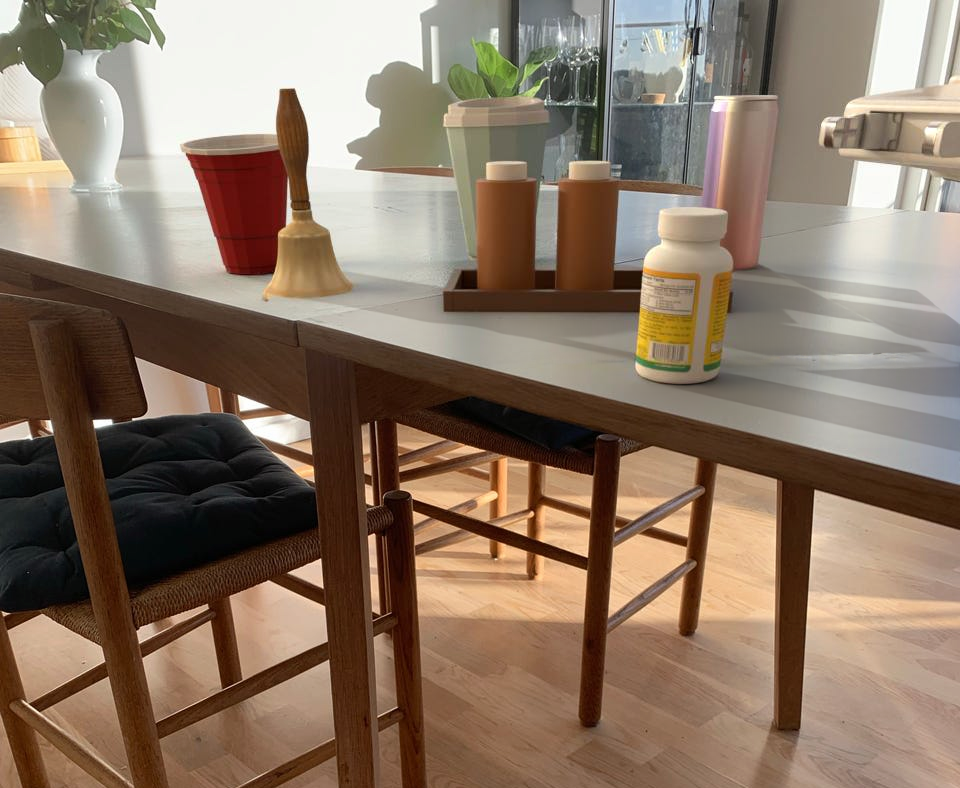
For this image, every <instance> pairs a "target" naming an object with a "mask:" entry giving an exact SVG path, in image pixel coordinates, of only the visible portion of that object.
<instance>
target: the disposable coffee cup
mask: <svg viewBox="0 0 960 788" xmlns="http://www.w3.org/2000/svg"><path fill="white" fill-rule="evenodd" d="M447 110H448V111H447V112H446V113H444V115H443V125H442V126H443V127H445V129H446V136H447V142H448V147H449V148H448V149H449V153H450V159H451V164H452V165H451V166H452V171H453V175H454V176H453V177H454V182H455V183H454V184H455V187H456V194H457V201H458V205H459V212H460V218H461V224H462V229H463V236H464V239H465V240H464V241H465V245H466V252H467V255H468V256H469V259H470V261H471V262H477V194H476V180H477V179H481V178H486V164H487V163H488V162H497V161H519V162H526V163H527V178H534V179H537V198H536V216H537V214H538V205H539V199H540V189H541V181H542V174H543V167H544V158H545V149H546V142H547V134H548V126H549V123H551V120H550V111H549V110H548V109H545V101H543V100H542V99H541V98H540V97H532V96H530V97H529V96H503V97H502V96H499V97H479V98H473V99H466V100H459V101H457V102H453V103H450V104H448V105H447Z"/></svg>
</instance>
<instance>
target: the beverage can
mask: <svg viewBox="0 0 960 788" xmlns="http://www.w3.org/2000/svg"><path fill="white" fill-rule="evenodd" d="M713 100H714V102H713V105H712V107H711V109H710V115H709V125H708V136H707V146H706V156H705V166H704V174H703V175H704V176H703V184H702V185H703V186H702V195H701V203H700V207H703V208H714V209H721V210H725V211H727V212H728V220H727V232H726V233H725V236H724V238H722V239H720V246H721V247H723V248H725V249H726V250H727V251H728V252H729V253H730V254H731V256H732V259H733V271H734V272H735V271H749V270H754V269H756V268H757V267H758V265H759V258H760V252H761V251H760V250H761V243H762V236H763V229H764V221H765V215H766V214H765V213H766V206H767V199H768V198H767V197H768V190H769V185H770V184H769V183H770V175H771V168H772V161H773V160H772V159H773V152H774V144H775V139H776V138H775V137H776V130H777V123H778V117H779V108H778V107H779V106H778V95H771V94H769V95H768V94H767V95H764V94H763V95H761V94H760V95H758V94H757V95H755V94H754V95H753V94H752V95H749V94H747V95H715V96H714V97H713ZM733 271H732V272H733Z"/></svg>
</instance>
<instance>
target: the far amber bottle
mask: <svg viewBox="0 0 960 788" xmlns="http://www.w3.org/2000/svg"><path fill="white" fill-rule="evenodd" d="M476 194H477V261H476V269H477V290H535V269H536V247H537V246H536V245H537V244H536V243H537V215H536V198H537V179H534V178H527V163H526V162H519V161H497V162H488V163H487V164H486V178H481V179H477V180H476Z"/></svg>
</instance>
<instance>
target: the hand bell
mask: <svg viewBox="0 0 960 788" xmlns="http://www.w3.org/2000/svg"><path fill="white" fill-rule="evenodd" d="M278 94H279V95H278V103H277V109H276V115H275V131H276V132H275V134H277V140H278V146H279V150H280V154H281V156H282V159H283V162H284V165H285V167H286V170H287V174H288V188H289V189H288V190H289V200H290V205H289V206H290V209H291V221H290V223H289V224H288V225H287V224H286V227H285V228H283V229H282V230H280V231H279V234H278V259H277V265H276V269H275V272H273V275H272V278H271V280H270V282H269V284H267V285H266V287H265V288H264V290H263V292H262V298H263V299H264V300H266V301H269V300H270V299H271V297H272V296H273V297H279V298H290V299H291V298H292V299H309V298H311V299H312V298H324V297H332V296H339V295H343V294H347V293H351V292H352V291H354V290H355V288H356V287H355V285H354V284H353V283H352V282H350V280H349V279H348V278H347V277H346V276H345V274H344V273H343V271H342V270H341V269H342V268H340V265H339V263H338V261H337V257H336V254H335V251H334V246H333V242H332V237H331V233H330V230H329V229H328V228H326V227H325V226H323V225H321V224H319V223H318V222H317V221H315V219H314V217H313V210H312V205H311V201H310V193H309V185H308V179H307V178H308V177H307V173H308V172H307V169H308V161H309V156H310V138H309V128H308V124H307V119H306V115H305V113H304V110H303V107H302V105H301V103H300V100H299V97H298V94H297V90H296V88H294V87H293V88H290V87H289V88H279V92H278Z"/></svg>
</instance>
